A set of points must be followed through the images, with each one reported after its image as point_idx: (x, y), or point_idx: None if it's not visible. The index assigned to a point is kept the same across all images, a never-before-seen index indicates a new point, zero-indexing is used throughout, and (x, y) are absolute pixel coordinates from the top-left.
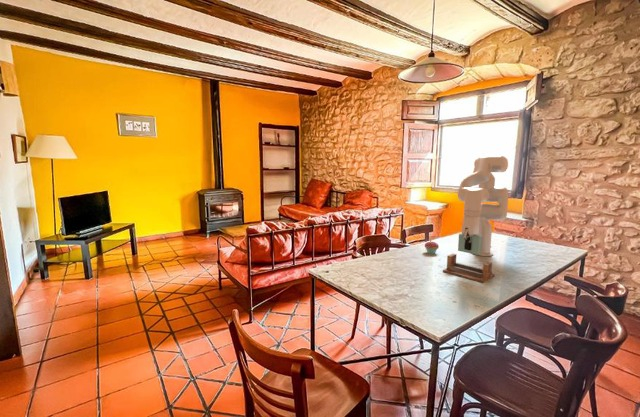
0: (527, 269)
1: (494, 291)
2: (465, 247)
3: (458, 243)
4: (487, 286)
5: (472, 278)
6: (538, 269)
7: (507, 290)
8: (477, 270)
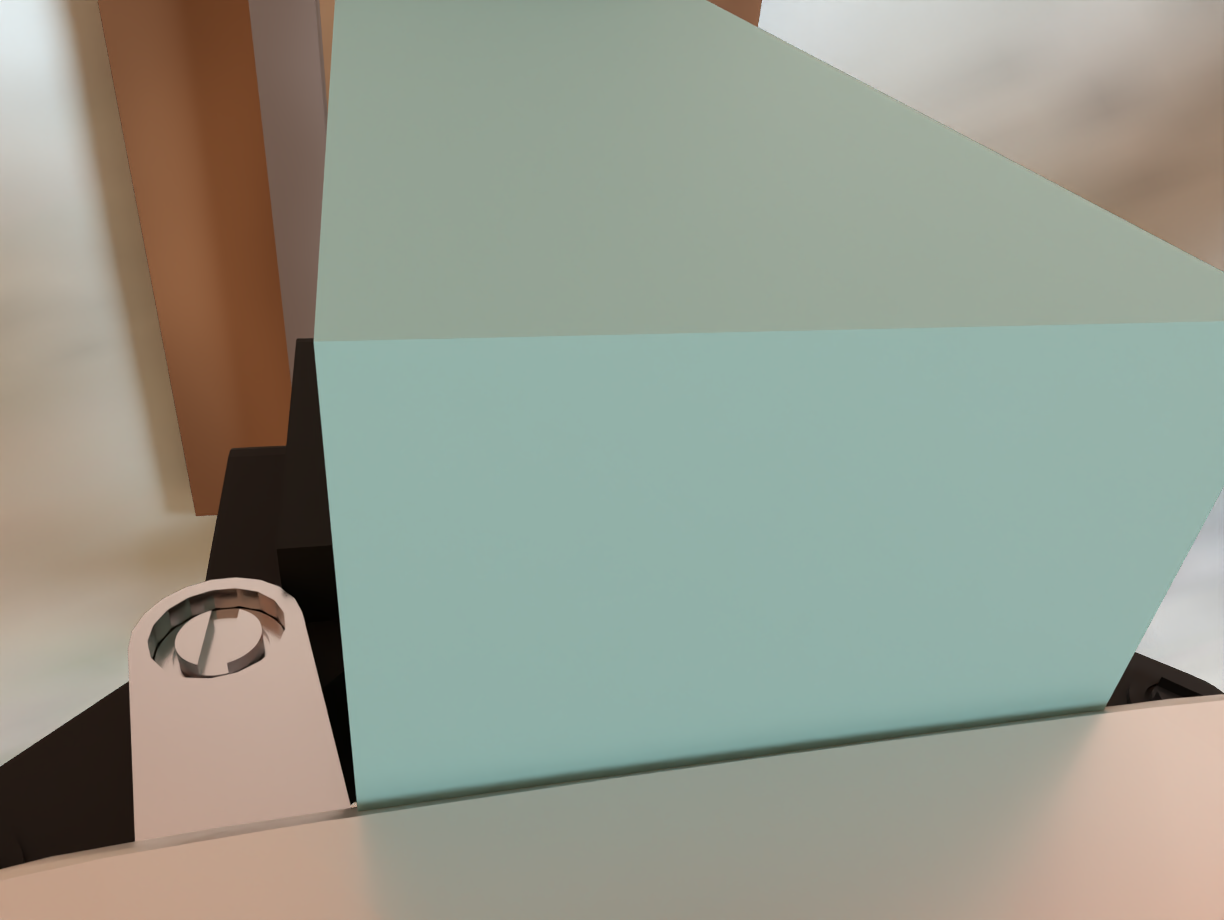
0: (1173, 600)
1: (18, 696)
2: (233, 450)
3: (334, 43)
4: (115, 583)
5: (165, 351)
6: (1218, 656)
7: None
8: None
